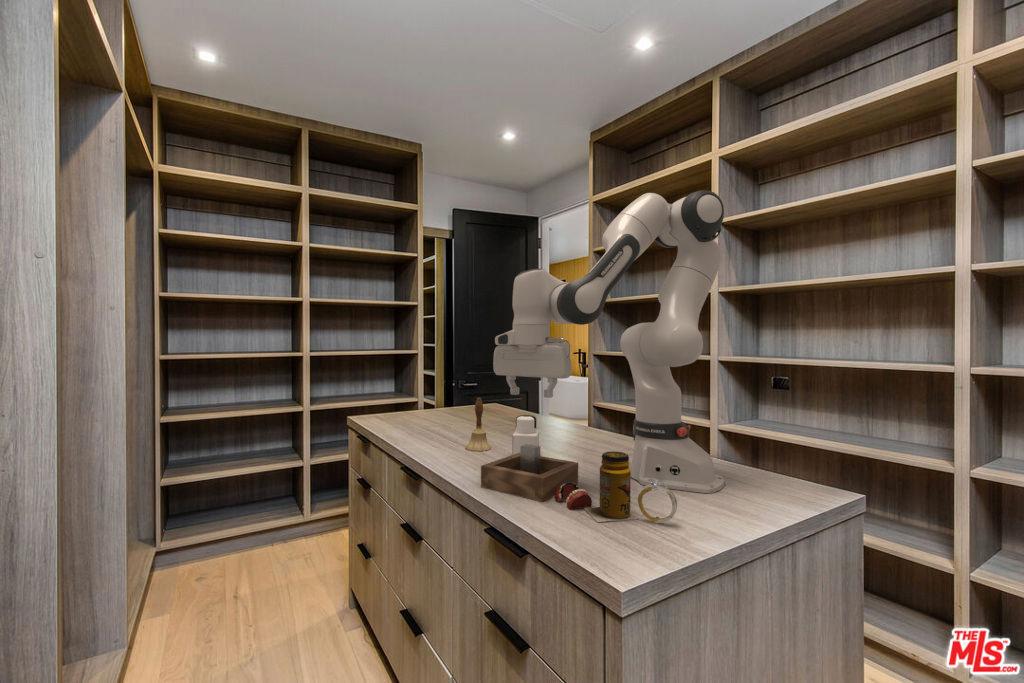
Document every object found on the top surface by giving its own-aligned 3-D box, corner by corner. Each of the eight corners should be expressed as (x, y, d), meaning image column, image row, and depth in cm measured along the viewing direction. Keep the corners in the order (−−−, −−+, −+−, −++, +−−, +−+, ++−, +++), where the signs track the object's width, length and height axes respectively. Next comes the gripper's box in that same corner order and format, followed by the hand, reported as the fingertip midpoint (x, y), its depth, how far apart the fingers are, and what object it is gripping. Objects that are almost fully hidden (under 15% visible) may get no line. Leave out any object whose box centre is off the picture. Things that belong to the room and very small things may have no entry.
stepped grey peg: (544, 482, 114) (544, 445, 114) (530, 488, 110) (530, 449, 109) (530, 479, 117) (530, 442, 117) (515, 485, 112) (516, 447, 112)
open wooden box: (578, 483, 115) (578, 462, 115) (542, 501, 102) (543, 478, 102) (519, 471, 125) (519, 452, 125) (480, 487, 112) (480, 465, 112)
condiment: (638, 519, 92) (639, 457, 92) (597, 523, 90) (598, 459, 90) (621, 506, 99) (622, 448, 99) (583, 509, 98) (583, 450, 97)
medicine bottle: (515, 453, 144) (515, 413, 144) (539, 454, 143) (539, 414, 143) (512, 459, 137) (512, 417, 137) (537, 460, 136) (537, 418, 136)
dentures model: (572, 491, 96) (553, 480, 104) (571, 512, 96) (552, 500, 104) (595, 488, 99) (575, 478, 106) (595, 509, 99) (574, 498, 106)
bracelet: (678, 524, 90) (678, 481, 90) (673, 530, 87) (673, 486, 87) (641, 516, 94) (642, 475, 94) (636, 521, 91) (636, 479, 91)
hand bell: (497, 448, 151) (497, 397, 151) (477, 452, 145) (477, 400, 145) (479, 444, 157) (479, 395, 157) (459, 448, 151) (460, 397, 151)
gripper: (576, 337, 110) (576, 397, 110) (504, 337, 122) (504, 391, 122) (563, 337, 105) (563, 400, 105) (489, 337, 117) (489, 394, 117)
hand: (531, 395), depth 113 cm, fingers open, 8 cm apart
